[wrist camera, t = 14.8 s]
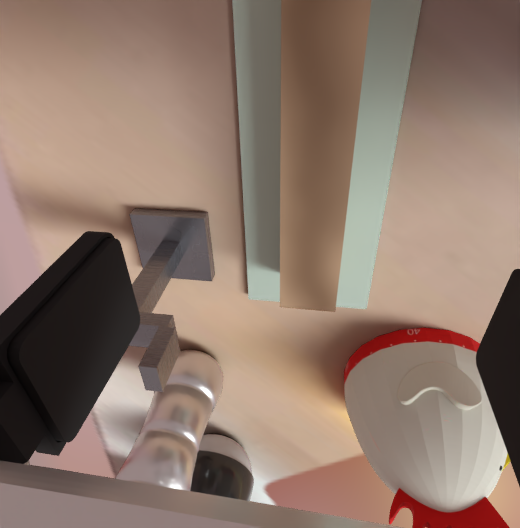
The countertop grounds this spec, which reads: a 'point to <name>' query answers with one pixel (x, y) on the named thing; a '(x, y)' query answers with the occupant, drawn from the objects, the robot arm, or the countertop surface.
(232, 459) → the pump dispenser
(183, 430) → the plastic bottle
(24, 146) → the countertop surface
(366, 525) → the robot arm
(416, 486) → the kitchen timer
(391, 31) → the mat
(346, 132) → the rail
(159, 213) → the hook standards
